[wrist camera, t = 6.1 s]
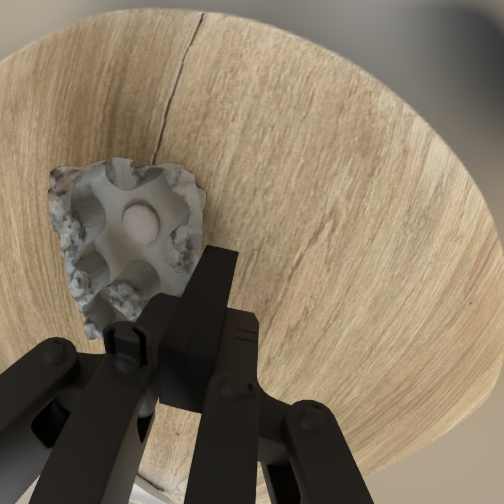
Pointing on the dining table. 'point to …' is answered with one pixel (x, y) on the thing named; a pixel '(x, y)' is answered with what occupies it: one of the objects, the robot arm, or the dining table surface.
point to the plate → (147, 493)
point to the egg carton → (125, 235)
